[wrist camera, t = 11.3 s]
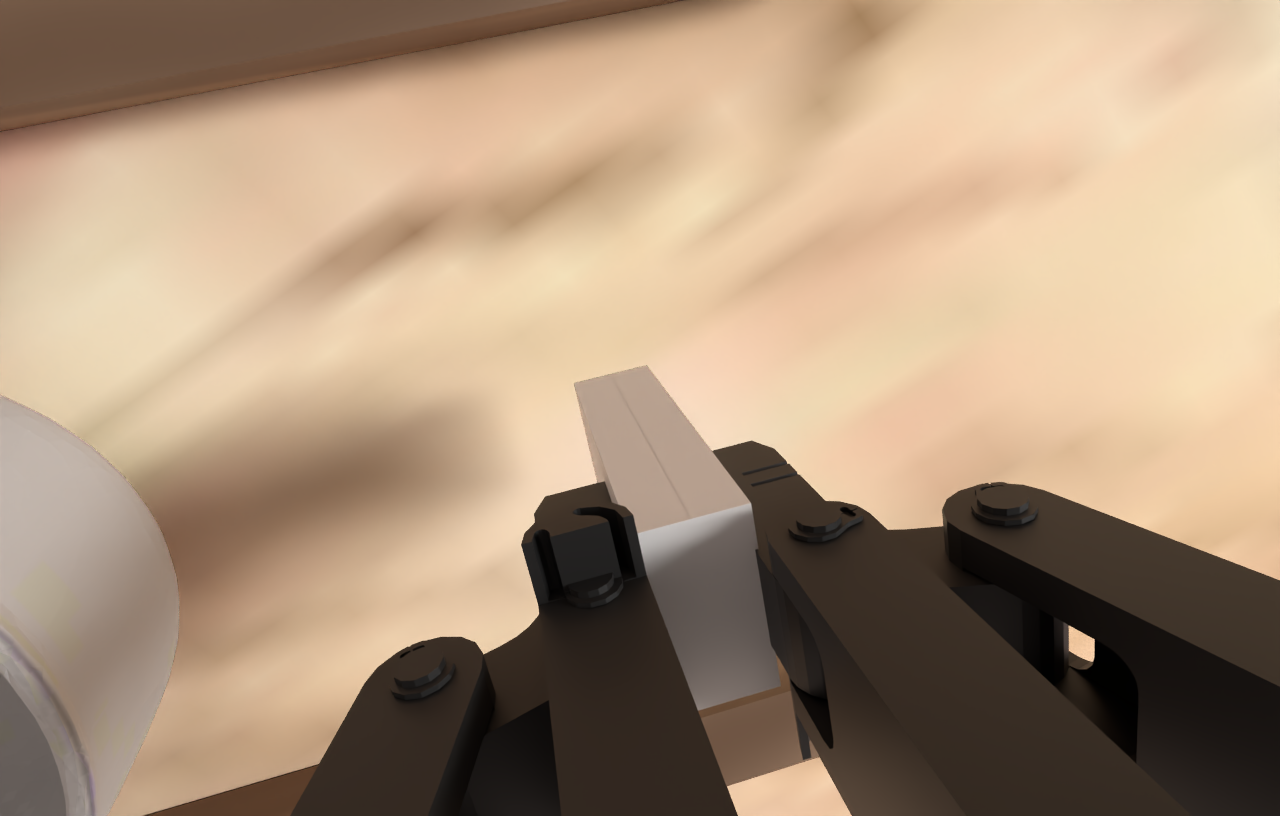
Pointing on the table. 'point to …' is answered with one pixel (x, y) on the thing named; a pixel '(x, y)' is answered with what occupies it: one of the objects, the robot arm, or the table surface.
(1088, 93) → the table surface
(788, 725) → the guide track
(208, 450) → the table surface
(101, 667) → the teacup
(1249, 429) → the table surface
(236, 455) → the table surface
